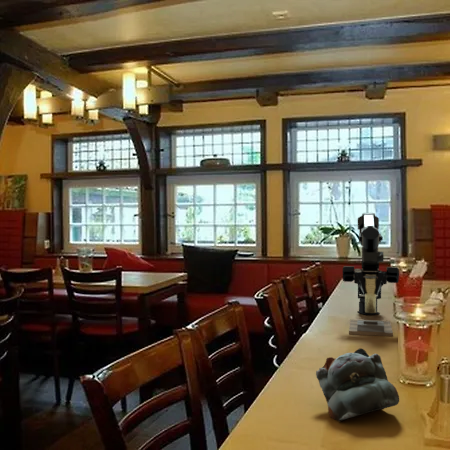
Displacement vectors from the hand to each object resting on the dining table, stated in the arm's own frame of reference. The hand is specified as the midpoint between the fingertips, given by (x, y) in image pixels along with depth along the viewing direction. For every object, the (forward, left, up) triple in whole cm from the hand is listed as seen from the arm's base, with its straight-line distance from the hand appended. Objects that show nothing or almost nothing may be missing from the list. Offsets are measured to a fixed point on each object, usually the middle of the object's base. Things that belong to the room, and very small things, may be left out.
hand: (370, 294), depth 179 cm
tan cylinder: (-1, -1, -6) cm, 6 cm away
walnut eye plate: (-4, -5, -13) cm, 14 cm away
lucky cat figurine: (+48, +57, -13) cm, 76 cm away
